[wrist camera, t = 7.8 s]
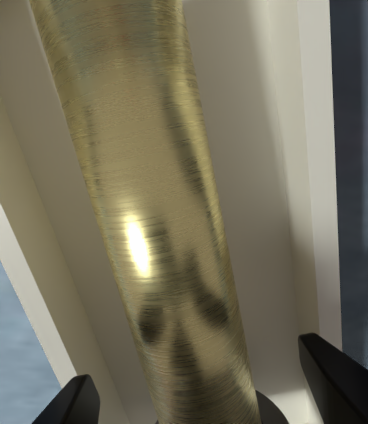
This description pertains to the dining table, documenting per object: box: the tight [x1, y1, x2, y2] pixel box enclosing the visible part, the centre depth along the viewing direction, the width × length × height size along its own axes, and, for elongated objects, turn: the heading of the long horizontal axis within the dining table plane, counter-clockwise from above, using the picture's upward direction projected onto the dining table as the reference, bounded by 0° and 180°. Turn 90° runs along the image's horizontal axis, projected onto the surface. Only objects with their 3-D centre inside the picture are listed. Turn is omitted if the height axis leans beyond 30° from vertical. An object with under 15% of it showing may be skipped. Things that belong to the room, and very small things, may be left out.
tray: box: [0, 0, 342, 424], centre depth 9 cm, size 17×8×2 cm, turn 12°
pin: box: [29, 0, 289, 424], centre depth 7 cm, size 13×5×5 cm, turn 12°
